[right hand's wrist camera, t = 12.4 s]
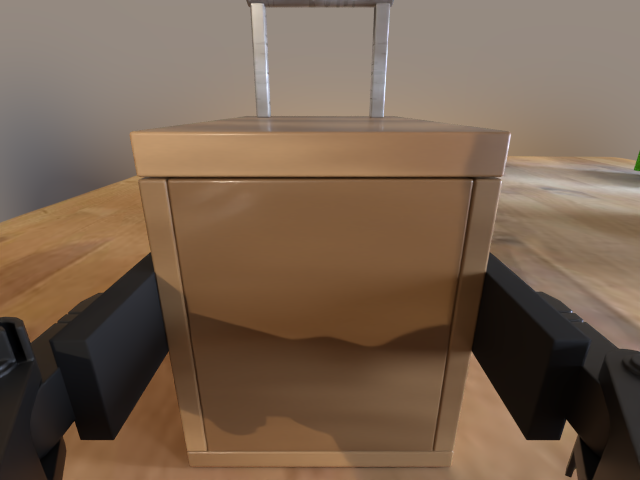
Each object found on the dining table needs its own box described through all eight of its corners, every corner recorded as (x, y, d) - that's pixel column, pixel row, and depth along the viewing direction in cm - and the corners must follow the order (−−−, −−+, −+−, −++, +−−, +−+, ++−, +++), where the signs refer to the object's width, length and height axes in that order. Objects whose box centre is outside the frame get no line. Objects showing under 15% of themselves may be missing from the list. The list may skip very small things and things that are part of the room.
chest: (255, 282, 26) (245, 135, 22) (384, 282, 26) (394, 136, 22) (188, 467, 13) (136, 179, 9) (451, 467, 13) (504, 179, 9)
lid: (247, 134, 23) (237, -18, 20) (392, 134, 23) (403, -18, 20) (136, 177, 9) (49, -296, 6) (504, 177, 9) (591, -296, 6)
